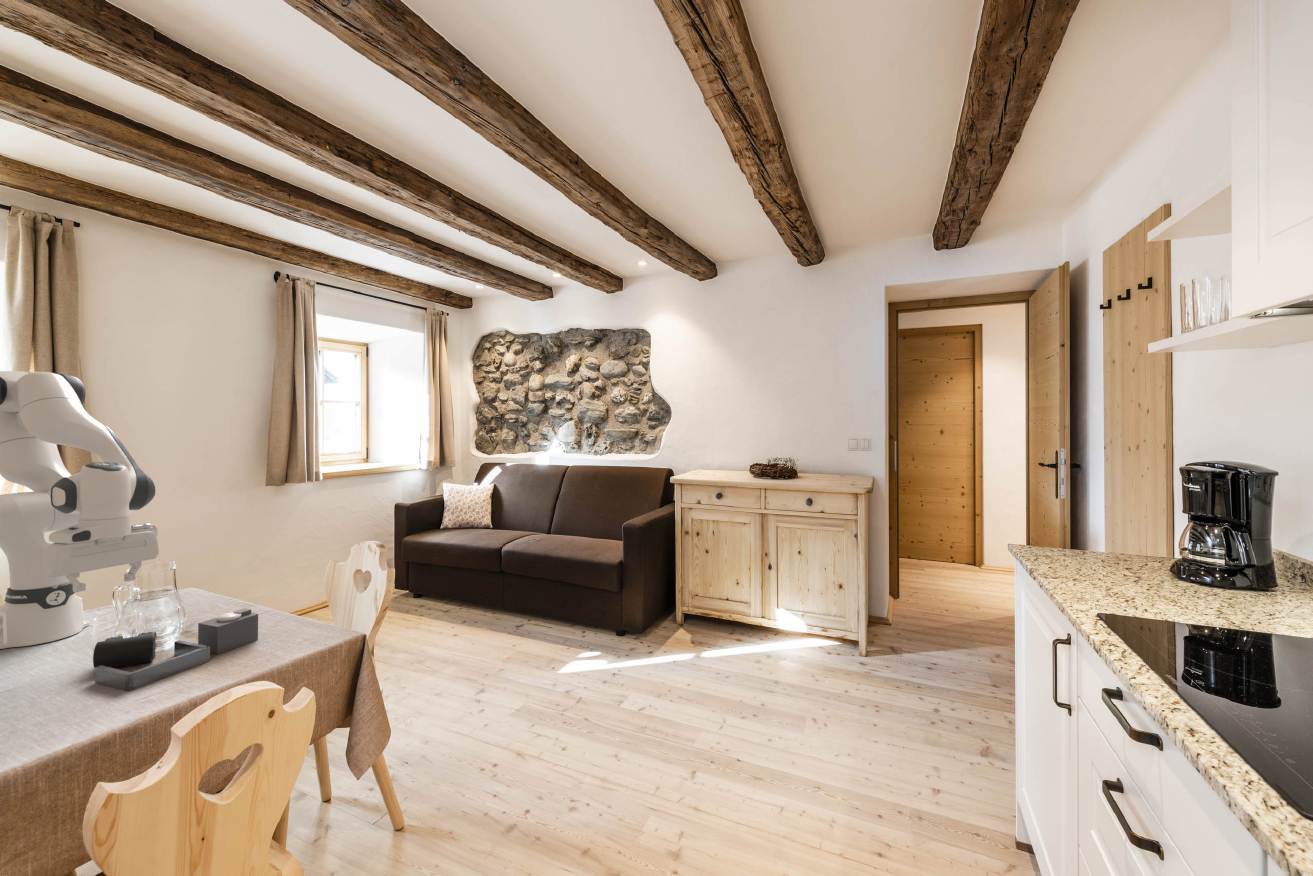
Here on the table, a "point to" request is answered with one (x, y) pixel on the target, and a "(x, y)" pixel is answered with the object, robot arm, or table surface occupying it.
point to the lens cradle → (154, 667)
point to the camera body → (228, 631)
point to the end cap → (125, 650)
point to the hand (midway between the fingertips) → (105, 585)
